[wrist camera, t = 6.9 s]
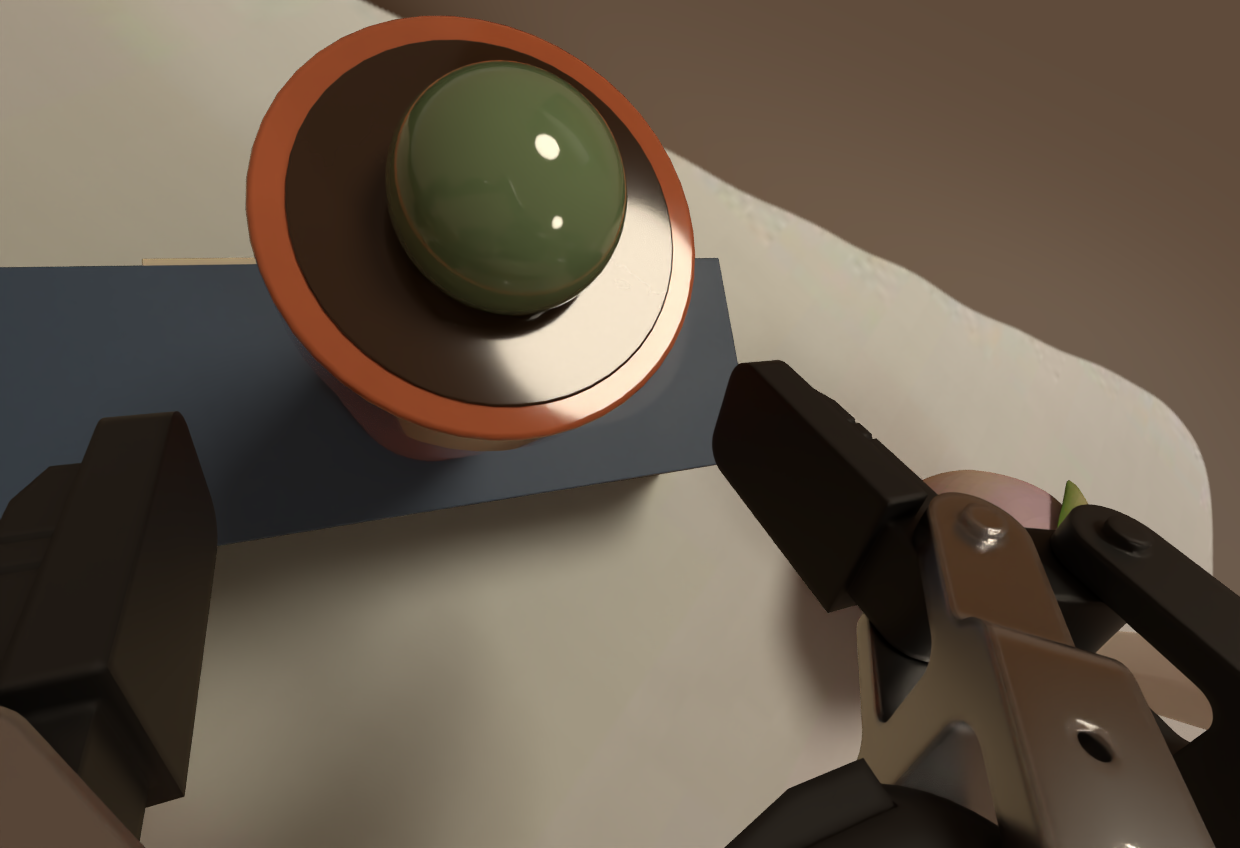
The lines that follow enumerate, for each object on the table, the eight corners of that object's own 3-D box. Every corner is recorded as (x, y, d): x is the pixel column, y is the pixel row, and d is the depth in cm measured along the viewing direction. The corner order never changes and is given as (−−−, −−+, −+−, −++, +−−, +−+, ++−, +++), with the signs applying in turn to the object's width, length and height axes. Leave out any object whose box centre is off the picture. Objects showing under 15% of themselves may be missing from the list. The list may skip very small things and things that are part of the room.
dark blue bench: (99, 565, 19) (-38, 587, 13) (80, 343, 20) (-59, 258, 14) (664, 473, 27) (755, 458, 21) (638, 314, 28) (718, 252, 21)
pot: (310, 483, 16) (156, 387, 5) (327, 269, 17) (231, -239, 5) (531, 487, 18) (791, 429, 7) (535, 297, 19) (771, -31, 8)
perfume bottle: (1063, 713, 34) (1539, 847, 20) (1013, 668, 33) (1475, 773, 19) (1088, 640, 35) (1546, 717, 21) (1042, 595, 34) (1487, 644, 21)
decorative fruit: (836, 446, 31) (1033, 414, 22) (954, 509, 33) (1178, 504, 24) (785, 633, 28) (985, 688, 19) (917, 688, 30) (1153, 760, 21)
